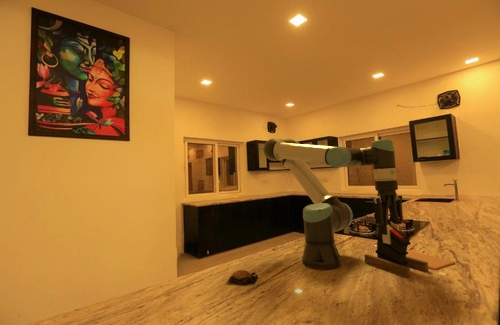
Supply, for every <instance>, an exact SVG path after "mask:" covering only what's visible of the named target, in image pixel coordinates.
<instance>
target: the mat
mask: <svg viewBox="0 0 500 325" xmlns="http://www.w3.org/2000/svg"><path fill="white" fill-rule="evenodd" d="M407 252H408V254H406V256H407V257H411V258H414V259H418V260H422V261H425V262H428V269H429V270H432V271H436V270H440V269H443V268H445V267H446V268H447V267H448V266H451V265H452V266H453V265H456V261H453V260H449V259H446V258H441V257H438V256H434V255H429V254H425V253H422V252H417V251H414V250H410V249H407Z"/></svg>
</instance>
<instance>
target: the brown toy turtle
mask: <svg viewBox="0 0 500 325" xmlns="http://www.w3.org/2000/svg"><path fill="white" fill-rule="evenodd" d="M258 278H259V276H258V275H257V273H255V272H249V271H247V270H245V269H238V270H237V271H235V272H233V273H232V275H230V276H229V278H228V279H227V281H226V283H225V286H227V285H228V286H252V285H256V283H257V281H258Z"/></svg>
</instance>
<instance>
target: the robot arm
mask: <svg viewBox="0 0 500 325" xmlns="http://www.w3.org/2000/svg"><path fill="white" fill-rule="evenodd" d="M262 150H263V154H264V156H265V157H266V158H267V159H268V160H270V161H274V162H281V164H282V165H283V166H284V168H287V169H289V170H290V171H291V173H292V174H293V176H294V177H295V179H296V180H297V182H298V183H299V185H300V186H301V188H302V189H303V190H304V191H305V193H306V195H307V196H308V197H309V199H310V200H311V202H312V203H313V204H308V205H306V206H305V207H304V208H303V209H302V219H303V231H304V241H305V243H304V244H305V245H304V248H303V253H302V256H301V257H302V259H301V262H302V264H303V266H305V267H307V268H308V269H309V268H310V269H313V270H320V271H321V270H323V271H325V270H334V269H337V268H339V267H341V265H342V259H341V256H340V253H339V250H338V248H337V246H336V242H335V233H336V232H339V231H343V230H345V229H346V228H348V227H349V226H350V225H351V224H352V222H353V217H354V215H353V211H352V209H351V207H350V206H349V205H348V204H347V203H344V202H341V201H340V200H339V198H338V197H337V196H336V195H333V194H330V192H329V191H328V189H327V188H326V186H324V185H323V184H324V183H322V182H321V180H319V178H318V177H317V175H316V174H315V173H314V172H313V170H312V169H311V168H310V166H309V165H308V164H307V163H311V164H320V165H325V166H326V165H327V166H331V167H335V168H359V167H366V166H367V167H368V166H372V168H373V178H374V180H375V181H374V188H375V189H374V190H376V192H377V194H376V195H377V196H376V197H372V198H371V201H372V203H373V209H374V218H375V224H376V225H377V226H378V225H381V233H382V236H383V243H387V244H391V238H390V228H389V226H387V224H388V223H389V222H388V220H389V215H390V219H391V222H390V225H392V226H393V227H394V228H396V229H397V230H398V231H399V232H401V231H400V225H402V224H403V221H404V214H403V205H402V203H403V195H401V194H400V195H399V194H397V192H396V191H397V190H399V186H398V185H399V184H398V180H397V178H398V177H397V167H396V155H395V153H396V152H395V151H396V150H395V147H394V142H393V140H392V139H389V138H385V139H376V140H373V141H371V142H370V146H367V147H360V148H357V147H356V148H355V147H353V148H352V147H345V146H344V147H343V146H331V145H317V144H304V143H303V144H301V143H299V142H298V141H296V140H294V139H288V138H287V139H284V138H277V137H276V138H271V139H268V140H266V142H265V143H264V145H263V149H262Z"/></svg>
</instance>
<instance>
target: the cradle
mask: <svg viewBox="0 0 500 325" xmlns="http://www.w3.org/2000/svg"><path fill="white" fill-rule="evenodd" d="M406 261H407V262H408V264H406V266H407V267H406V266H403V265H400V264H397V263H393V262H390V261H387V260H384V259H381V258H378V257H377V256H375V255H371V254H367V253H366V254H364V263H365V264H368V265H370V266H373V267H377V268H379V269H382V270H385V271H387V272H391V273H393V274H396V275H399V276H401V277H404V278H407V279H408V278H411V272H410V270H411V269H410V268H412V269H416V270H419V271H421V272H424V273H425V272H427V273H428V272H429V271H430V269H429V268H428V262H425V261H422V260H418V259H414V258H411V257H407V256H406Z"/></svg>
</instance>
